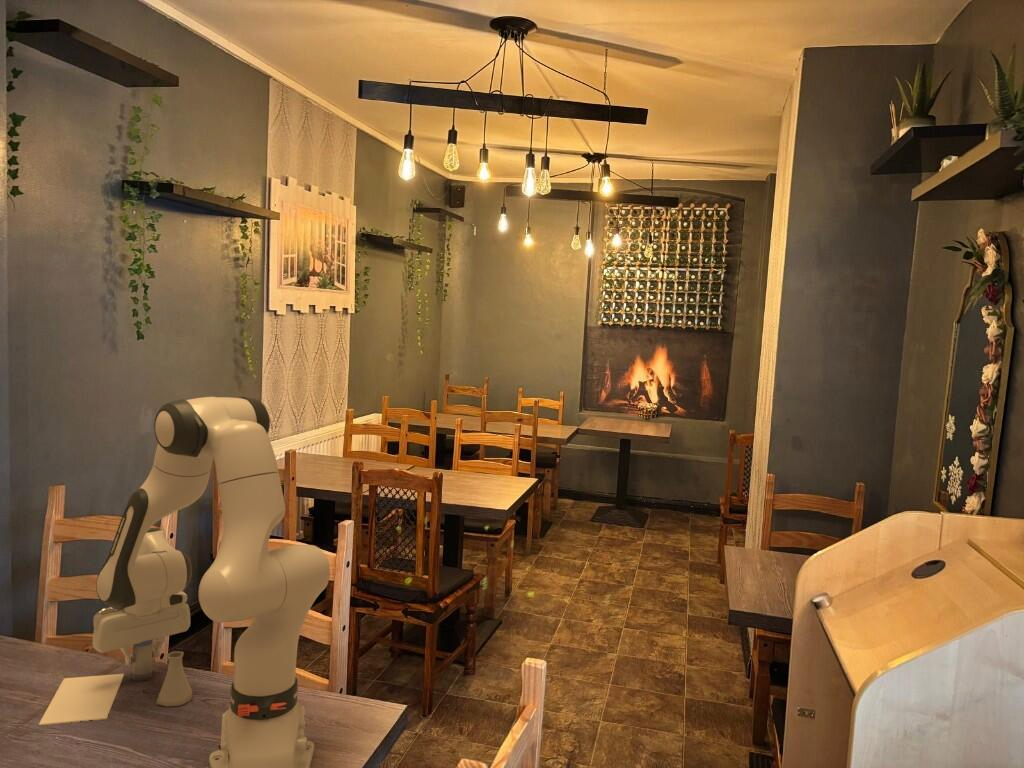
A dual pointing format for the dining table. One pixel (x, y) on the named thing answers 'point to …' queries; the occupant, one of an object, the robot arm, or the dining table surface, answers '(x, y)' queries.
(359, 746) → the dining table surface
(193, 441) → the robot arm
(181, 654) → the flask
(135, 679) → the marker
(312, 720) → the dining table surface
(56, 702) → the paper
